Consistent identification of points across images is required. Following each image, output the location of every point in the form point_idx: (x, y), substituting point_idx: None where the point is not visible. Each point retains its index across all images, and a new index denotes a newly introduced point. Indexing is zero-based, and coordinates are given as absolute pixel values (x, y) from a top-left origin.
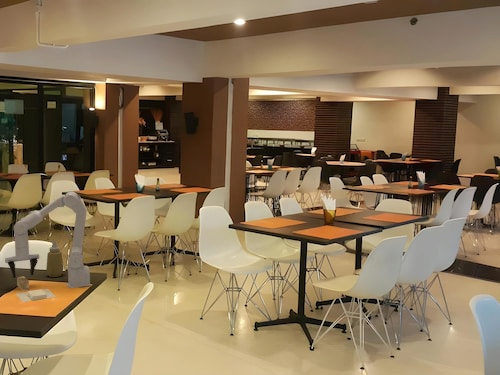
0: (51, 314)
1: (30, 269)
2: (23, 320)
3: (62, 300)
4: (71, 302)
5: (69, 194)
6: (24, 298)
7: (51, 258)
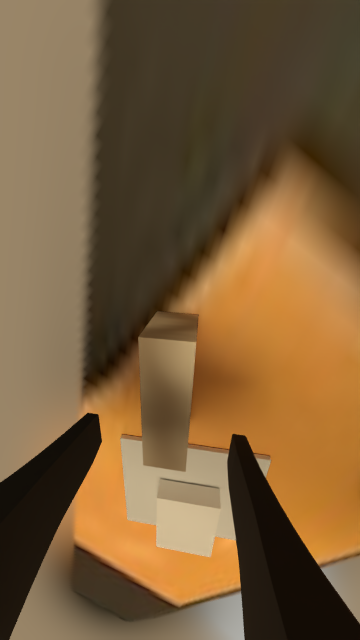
0: (175, 596)
1: (245, 478)
2: (110, 585)
3: None
4: None
5: None
6: (141, 498)
7: None
